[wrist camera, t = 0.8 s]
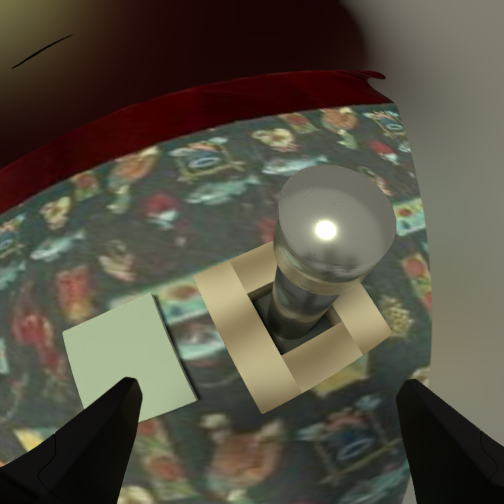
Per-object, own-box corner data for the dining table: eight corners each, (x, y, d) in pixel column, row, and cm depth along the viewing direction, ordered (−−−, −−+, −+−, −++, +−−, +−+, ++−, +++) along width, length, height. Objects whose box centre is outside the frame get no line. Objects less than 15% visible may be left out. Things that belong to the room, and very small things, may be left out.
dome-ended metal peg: (328, 327, 23) (416, 234, 10) (279, 354, 22) (325, 289, 9) (300, 281, 25) (348, 154, 12) (252, 305, 24) (256, 185, 11)
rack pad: (198, 400, 20) (196, 400, 19) (100, 434, 18) (95, 435, 17) (153, 296, 24) (150, 292, 23) (67, 334, 22) (62, 332, 21)
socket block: (380, 340, 22) (392, 333, 20) (260, 412, 20) (261, 414, 18) (312, 235, 28) (317, 221, 25) (197, 287, 25) (192, 276, 23)
